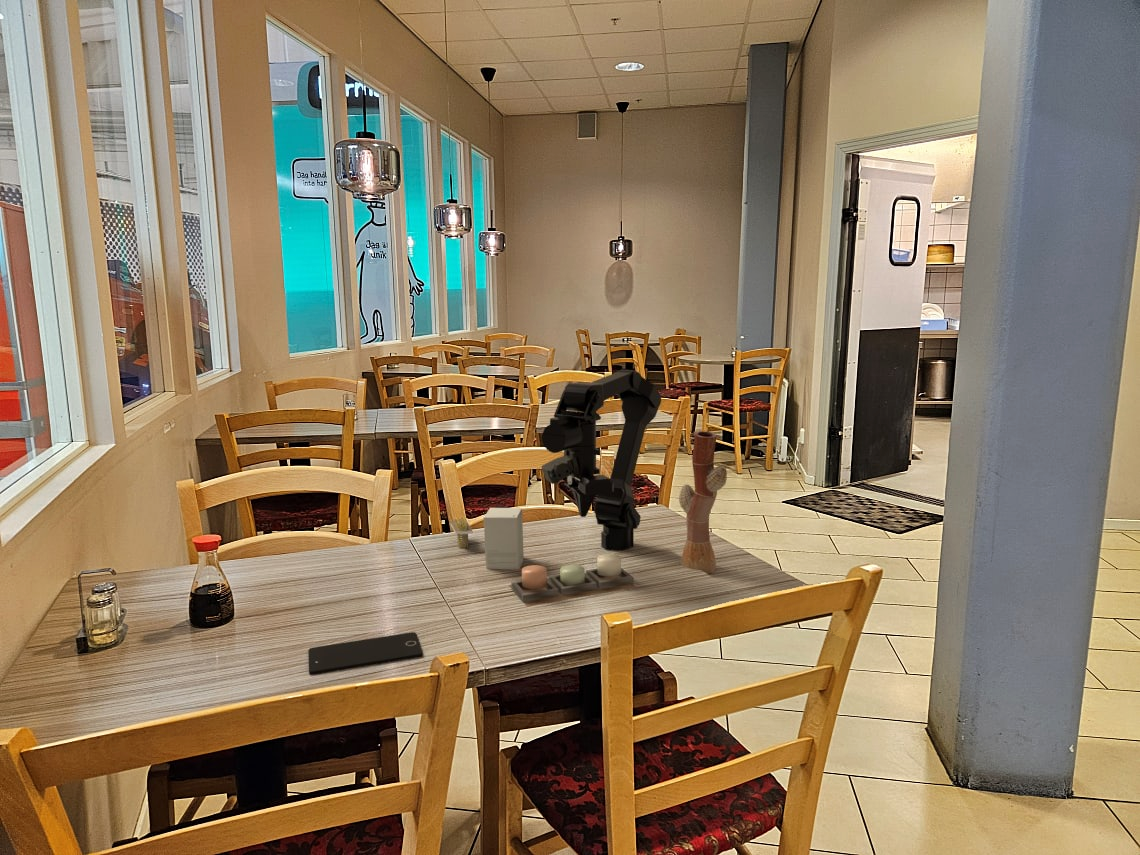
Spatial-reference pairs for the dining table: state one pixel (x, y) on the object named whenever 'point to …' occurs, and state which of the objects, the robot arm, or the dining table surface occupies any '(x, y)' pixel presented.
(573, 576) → the sage green rounded piece
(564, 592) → the brown compartment tray
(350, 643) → the cell phone
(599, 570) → the cream button
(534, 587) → the terracotta button
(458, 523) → the toothpick holder
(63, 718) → the dining table surface
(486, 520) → the supplement box
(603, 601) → the dining table surface
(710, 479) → the vase
